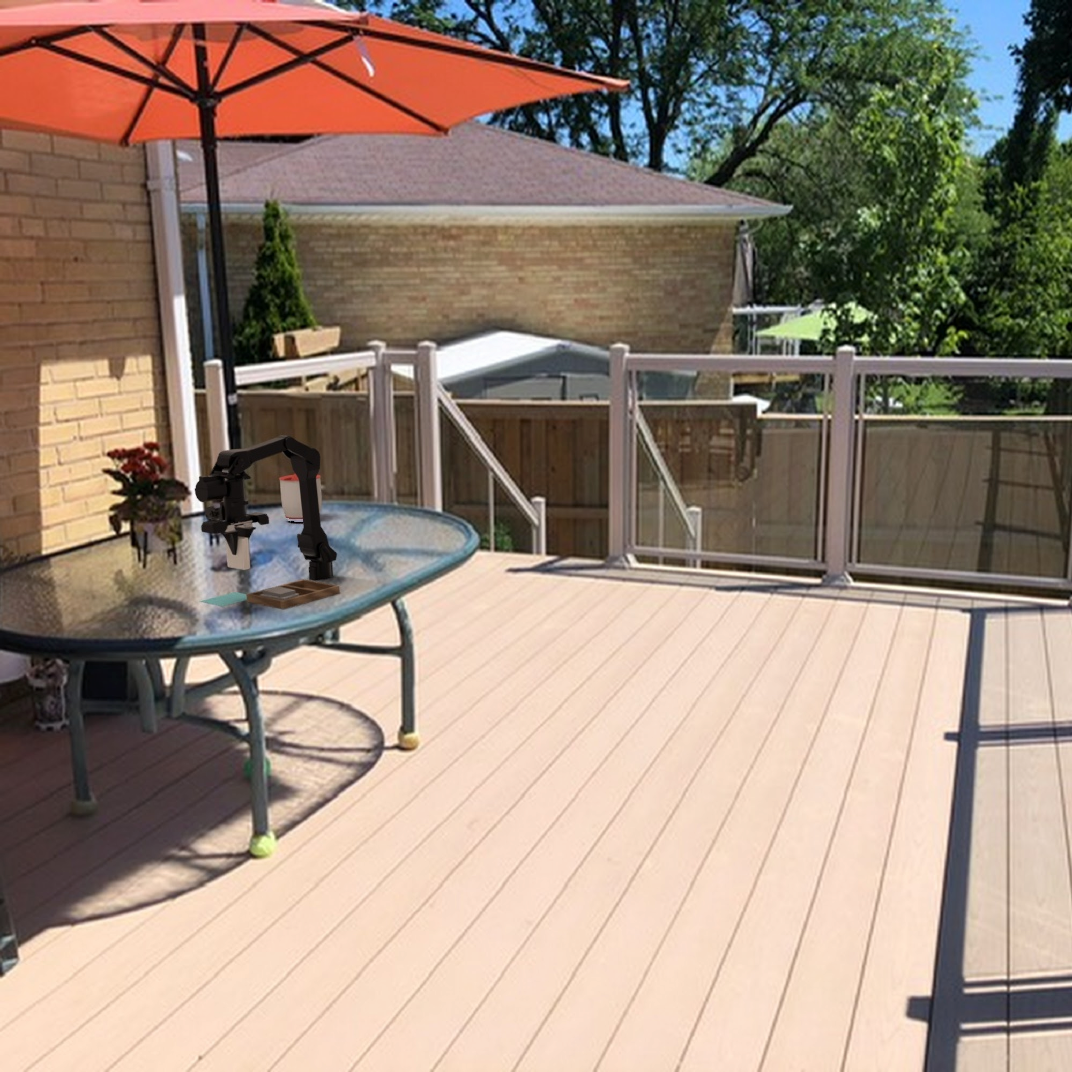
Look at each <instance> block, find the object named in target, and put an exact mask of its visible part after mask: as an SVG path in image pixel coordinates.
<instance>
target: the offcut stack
mask: <svg viewBox="0 0 1072 1072" xmlns="http://www.w3.org/2000/svg"><path fill="white" fill-rule="evenodd" d="M279 586H280V585H276V586H273V587H268V588H264V589H261V590H262V593H263V594H261V595H260V596H264V597H269V598H274V599H279V600H287V599H290V598H294V597H297V596H299V594H296V593H295V590H292V589H287V588H283V587H279Z"/></svg>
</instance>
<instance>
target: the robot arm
mask: <svg viewBox="0 0 1072 1072" xmlns="http://www.w3.org/2000/svg"><path fill="white" fill-rule="evenodd" d="M281 453H282V455H283V456H284V457H286V458H287V459H288V460H290V464H291V468H292V470H293V472H294V474H296V475H297V477H298V479H299V487H300V497H301V506H302V516H303V523H302V524H303V525H302V526H303V528H302V530H301V533H297V535H296V538H297V548H299V552H300V553H301V554H302V555H303V559H304V560H305V561H308V579H309V580H310V581H315V582H317V581H324V580H329V579H332V578H333V577H334V569H333V568H334V567H333V562H334V561H337V558H338V557H337V556H338V552H336V550H334V549H333V548H332V547H331V546H330V544H329V539H328V536H327V534H326V532H325V531H324V529H323V527H322V523H321V511H320V512H319V502H318V492H317V482H316V477H317V475H319V472H320V470H321V453H320V451H318V450H317V449H316V448H314V447H310V446H308V445H307V444H305V443H302V442H301V441H298V440H296V438H294V437H292V436H291V435H283V434H282V435H277V436H276V437H275V438H271V439H268V440H265V441H263V442H260V443H257V444H254V445H251V446H248V447H246V448H234V449H226V450H222V451H220V452H219V453H218V456H217V457H216V458H217V459H216V461H215V463H214V466H213V468H212V469H211V471H210V473H209V475H199V477H198V481H197V482H196V484H195V488H194V494H195V497H196V499H197V501H199V502H201V503H206V502H213V501H219V500H221V501H219V507H214V505H211V506H207V507H205V508H204V516H205V519H206V521H203V522H202V524H201V527H200V528H201V529H200V530H201V533H206V534H213V535H215V534H217V535H218V534H221V536H223V537H224V539H225V542H226V541H227V543H228V545H229V548H230V550H231V552H232V554H233V555H236V553H237V543H238V536H239V537H246V538H248V541H249V540H250V538H251V536H252V534H253V532H254V530H256V529H257V527H255V526H254V525H253V524H255V523H258V525H260V526H264V525H270V517H269V516H268V513H263V512H250V513H249V512H248V513H247V509H246V508H247V507H246V506H247V505H249V503H250V502H249V500H246V494H245V493H246V492H245V491H246V490H245V480H251V478H252V476H250V475H249V474H247V472H246V470H248V469H249V468H251V467H252V465H253V464H254V463H256V462H259V461H262V460H264V459H267V458H269V457H271V456H275V455H278V454H281Z"/></svg>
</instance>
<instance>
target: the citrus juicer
mask: <svg viewBox="0 0 1072 1072" xmlns="http://www.w3.org/2000/svg"><path fill="white" fill-rule="evenodd" d="M321 477H322V476H321V475H320V474H317V477H316V482H317V492H318V502H319V512H320V513H321V510H322V501H323V500H322V499H323V498H322V485H321V483H322V482H321ZM279 485H280V486H279V487H280V499H281V506H282V510H283V514H284V517H285V519H286V518H289V519H303V516H302V506H301V497H300V487H299V479H298V477H297V475H296V474H295V473H294V474H289V475H284V476H281V477H279Z"/></svg>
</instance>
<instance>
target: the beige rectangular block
mask: <svg viewBox="0 0 1072 1072" xmlns="http://www.w3.org/2000/svg"><path fill="white" fill-rule="evenodd" d="M249 543H250V542H249V540H248V538H246V537H239V536H238V543H237V553H236V555H233V554H232V552H231V550H230V548H229V545H228V543H227V541H226V540H225V545H226V549H225V550H226V560H227V567H228V568H232V569H235V570H236V569H237V570H243V571H245V570H249V569H251V561H250V545H249Z"/></svg>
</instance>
